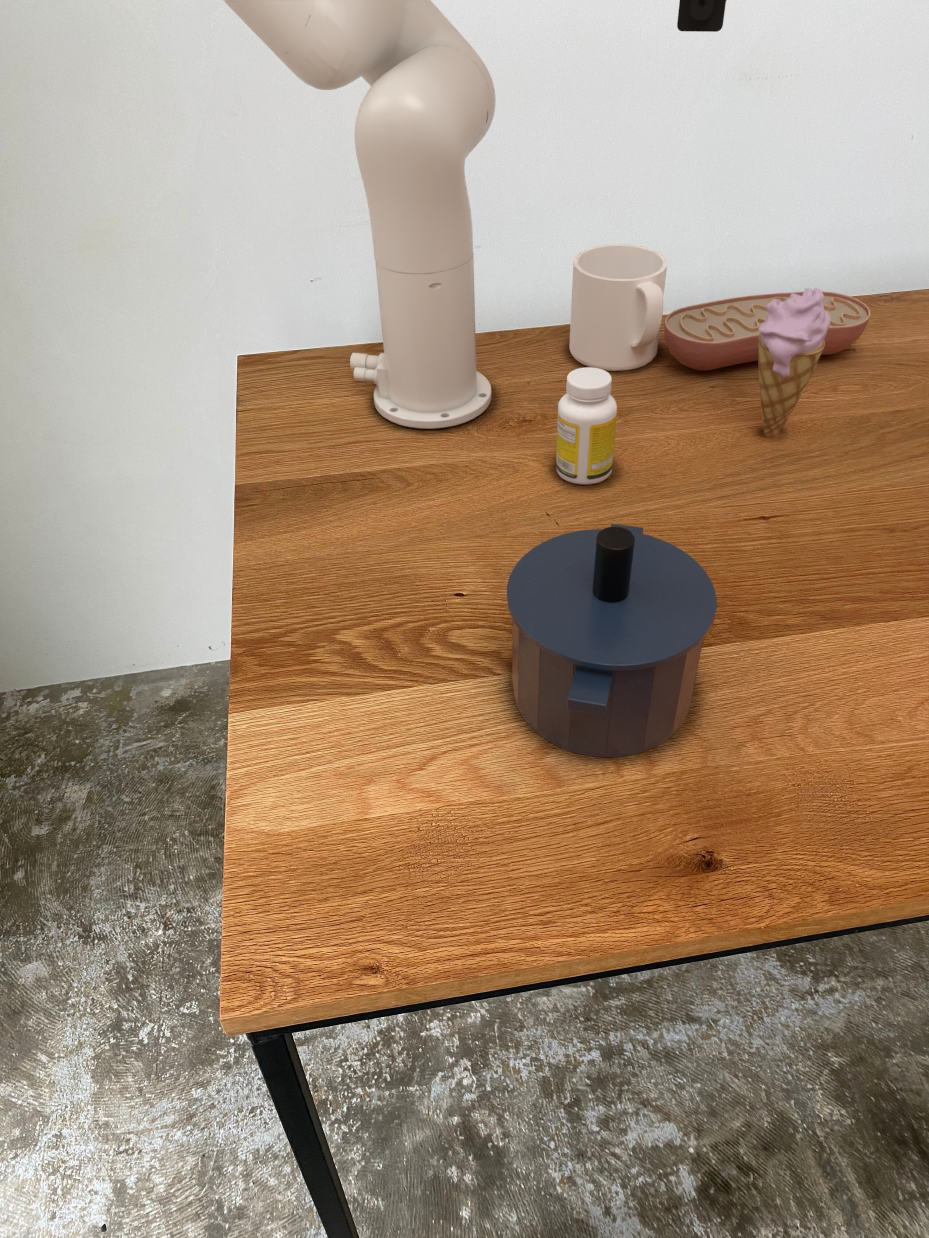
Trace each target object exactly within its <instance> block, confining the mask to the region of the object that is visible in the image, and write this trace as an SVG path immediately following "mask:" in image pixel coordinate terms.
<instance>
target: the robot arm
mask: <svg viewBox="0 0 929 1238" xmlns="http://www.w3.org/2000/svg"><path fill="white" fill-rule="evenodd" d="M223 2H224V3H225V4H226V6H228V7H229V8H230V9H231V10H232V11H233V13H235V15H236V16H237V17H238V18H240V20H241V21H242V22H243V23H244V24H245V25H246V26H247V27H248V28H249V29H250V30H251V31H252V32H253V33H254V34H255V35H256V36H257V38H259V39H260V40H261V41H262V43H264V45H266V46H267V47H268V49H269V50H270V51H271V52H272V53H273V54H274V55H275V56H276V57H277V58H278V59H279V60H280V61H281V62H282V63H283V64H284V65H285V66H286V67H287V69H289V71H291V72H292V73H293V74H294V75H295V76H296V77H297V78H298V79H299V80H300V81H302V82H303V83H304V84H306V85H307V86H310V87H312V88H314V89H316V90H320V91H333V90H337V89H341V88H342V87H345V86H347V85H350V84H352V83H354V82H355V81H356V80H358V79H360V78H362V79H363V80H364V81H365V82H366V83H367V84H368V85H369V86H370V88H369V89H368V90H367V92H366V93H365V95H364V96H363V99H362V101H361V103H360V105H359V107H358V110H357V114H356V118H355V124H354V149H355V156H356V160H357V165H358V168H359V173H360V177H361V180H362V184H363V189H364V192H365V198H366V203H367V208H368V213H369V222H370V229H371V238H372V247H373V257H374V261H375V262H374V263H375V273H376V284H377V294H378V304H379V314H380V325H381V326H380V327H381V334H382V345H383V346H382V347H383V352H380V353H379V354H378V355H374V354H370V353H364V352H363V353H361V352H352V353H351V355H350V358H349V366H350V370H351V371H352V372H353V373H352V374H353V380H354V381H355V382H356V381H357V382H373V383H374V385H375V387H374V390H373V403H374V407H375V410H376V411H377V412H378V413H379V415H381V416H382V417H383V418H385V419H386V420H388V421H389V422H391V423H394V424H396V425H399V426H403V427H406V428H411V429H413V428H414V429H419V430H420V429H421V430H424V429H425V430H434V429H445V428H449V427H456V426H458V425H462V424H465V423H467V422H470V421H471V420H474V419H476V418H477V417H478V416H480V415H482V414H483V413H484V412H485V411H486V410H487V409H488V408H489V406H490V404H491V401H492V396H493V395H492V385H491V383H490V381H489V380H488V379H487V377H486V376H485V375H484V374H482V373H481V372H479V371H478V370H477V339H476V335H477V333H476V300H475V299H476V298H475V295H476V294H475V260H474V259H475V258H474V236H473V234H474V233H473V219H472V218H473V217H472V210H471V203H470V197H469V191H468V188H467V181H466V174H465V164H466V158H468V156H469V155H470V153H471V152H472V151H473V150H475V148H476V147H477V146H478V145H479V143H480V142H482V140H483V139H484V137H485V136H486V134H487V133H488V131H489V129H490V127H491V126H492V122H493V120H494V117H495V112H496V102H497V101H496V99H497V98H496V90H495V84H494V82H493V78H492V75H491V73H490V71H489V69H488V67H487V65H486V64H485V62H484V61H483V59H482V57H481V56H480V54H478V52H477V51H476V50H475V48H474V47H473V46H472V45H471V44H470V43H469V42H468V40H467V39H466V38H465V36H463V35H462V34H461V32H460V31H459V30H458V29H457V28H456V27H455V26H454V25H453V24H452V23H451V21H450V20H449V19H448V18H447V16H445V15H444V14H443V13H442V12H441V10H440V9H439V8H438V7H437V6H436V5H435V4H434V2H433V1H432V0H223ZM726 5H727V0H679V3H678V14H677V22H676V27H677V29H678V31H679V32H703V33H704V32H709V33H710V32H711V33H712V32H713V33H715V32H719V31H721V30H722V29H723V26H724V19H725V11H726Z"/></svg>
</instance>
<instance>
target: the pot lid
mask: <svg viewBox="0 0 929 1238" xmlns="http://www.w3.org/2000/svg"><path fill="white" fill-rule="evenodd" d="M717 600H718V599H717V594H716V589H715V587H714V584H713V582H712V579H711V578H710V576H709V575H708V573H707V572H706V570H705V569H704V567H702V565H701V564H700V563H698V561H696V559H694V558H693V557H692V556H691V555H689V554H688V553H687V552H685V551H684V550H682V549H680V548H679V547H677V546H675V545H674V544H672V543H669V542H667V541H665V540H663V539H661V538H657V537H655V536H652V535H649V534H645V533H643V534H641V533H638V532H632V531H629V530H627V529H625V528H622V527H611V526H608V527H604V528H591V529H582V530H576V531H571V532H567V533H564V534H560V535H557V536H555V537H552V538H549V539H547V540H544V541H543V542H541V543H539V544H537V545H536V546H534V547H532V548H531V549H530V550H529V551H527V552H526V553H525V554H524V555H523V556H522V557H521V558H519V560H518V561H517V563H516V564H515V566H514V567H513V568H512V571H511V573H510V575H509V577H508V581H507V584H506V603H507V610H508V612H509V614H510V617H511V620H512V619H513V621H514V622H515V624H516V626H517V627H518V628H519V630H520V631H521V632H522V633H523V635H524V636H526V637H527V638H528V639H529V640H530V641H531V642H532V643H533V644H535V645H536V646H538V647H539V648H540V649H542V650H543V651H545V652H547V653H549V654H551V655H552V656H555V657H557V658H559V659H562V660H564V661H567V662H570V663H573V664H576V665H579V666H584V667H589V668H593V669H602V670H619V671H624V670H638V669H644V668H650V667H654V666H658V665H661V664H665V663H667V662H670V661H672V660H675V659H677V658H679V657H681V656H682V655H684V654H686V653H688V652H689V651H690V650H692V649H693V648H694V647H696V646H697V645H698V644H699V643H700V642H701V641H702V640H703V641H704V640H705V638H706V636H707V635H708V634H709V632H710V631H711V628H712V627H713V623H714V621H715V617H716V612H717V607H718V605H717Z"/></svg>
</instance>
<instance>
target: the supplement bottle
mask: <svg viewBox="0 0 929 1238" xmlns="http://www.w3.org/2000/svg"><path fill="white" fill-rule="evenodd" d="M612 379H613V377H612V375H611V374H610V373H609V372H608V371H606V370H602V369H599V368H592V367H588V366H586V367H578V368H575V369H573V370H572V371H570V372H569V373H568V374H567V376H566V383H565V384H566V387H565V390H566V393H565V394H564V395H563V396H562V397H560V399H559V401H558V404H557V419H556V420H557V422H556V423H557V424H556V451H555V466H556V467H555V469H556V472H557V474H558V475H559V477H560V478H561V479H562V480H563V481H564V480H565V481H566V482H568V483H571V484H574V485H582V486H583V485H585V486H587V485H595V484H600V483H602V482H603V481H606V480H607V479H608V478H609V477H610V475H611V474H612V473H613V467H614V456H615V445H616V444H615V443H616V430H617V417H618V406H617V401H616V399H615V398H614V397H613V396H612V395H611V393H612V384H613V383H612Z"/></svg>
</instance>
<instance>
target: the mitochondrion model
mask: <svg viewBox="0 0 929 1238" xmlns="http://www.w3.org/2000/svg"><path fill="white" fill-rule="evenodd" d="M821 291H822V293H823V295H824V298H823V305H824V310H825V311H826V312H827V313H828V314H829V315H830V319H831V322H830V325H829V328H828V330H827V334H826V336H825V338H824V341H825V346H824V349H823V351H822V353H821V355H820V356H828V355H833V354H837V353H839V352H842V351H844V350H846V349H847V348H849V347H851V346H852V345H853V344H854V343H856V341H858V339H860V337H861V336H862V335H863V334H864V332H865V330H866V329H867V326H868V325H869V322H870V318H871V316H872V315H871V314H872V313H871V309H870V308H869V307H868V306H867V304H866V303H864V302H862V301H861V300H859V299H858V298H856V297H853V296H850V295H847V294H843V293H839V292H834V291H823V290H821ZM803 293H804V291H795V292H794V291H793V292H792V291H791V292H790V291H789V292H778V293H777V292H776V293H763V294H751V295H745V296H737V297H731V298H723V299H718V300H713V301H709V302H708V301H707V302H702V303H698V304H694V305H689V306H688V305H687V306H684V307H680V308H678V309H674V310H672V312H670V313H669V314H668V315H667V316H666V317H665V319H664V325H663V326H664V327H663V336H664V341H665V345H666V347H667V349H668V350H669V352H670V354H671V355H672V356H673V358H675V359H676V360H677V362H679V363H680V364H681V365H683V366H685V367H687V368H689V369H692V370H696V371H712V370H717V369H720V368H726V367H730V366H735V365H740V364H745V363H751V362H758V337H759V334H760V332H759V326H760V324H762V322H765V321H766V320H767V318H768V316H769V312H768V311H767V310H766V307H765V306H766V305H767V304H769V303H770V302H771V301H772V300H774V299H779V300H781V301H785V300H787V299H790V295H791V294H797V295H800V296H802V295H803Z"/></svg>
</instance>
